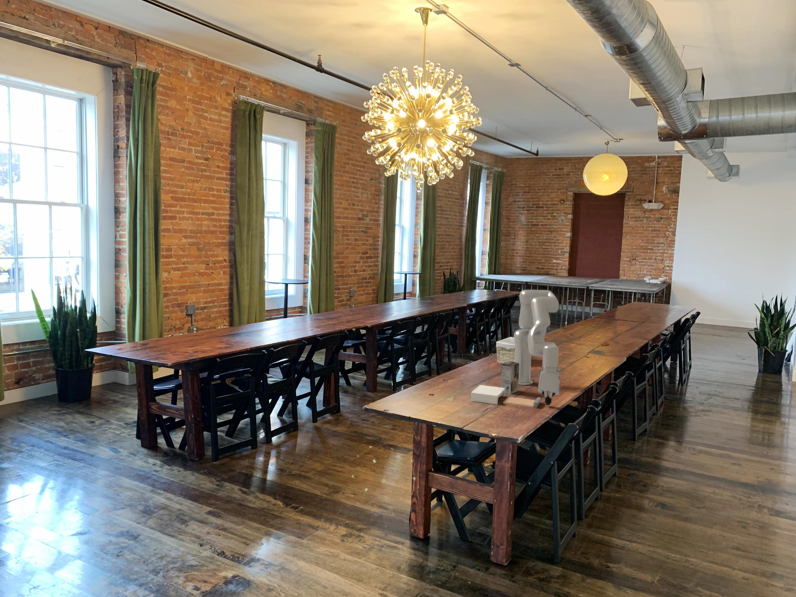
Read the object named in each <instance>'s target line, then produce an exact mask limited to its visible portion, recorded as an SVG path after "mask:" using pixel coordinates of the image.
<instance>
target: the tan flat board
mask: <svg viewBox="0 0 796 597" xmlns="http://www.w3.org/2000/svg"><path fill="white" fill-rule="evenodd" d="M541 400H542V398H541V397H539V396H538V397H536V399H529V398H521V397H512V396H507V398H506V399H505V400H504V401H503V402H502V403H503V405H509V406H517V407H523V408H524V407H525V408H531V409H537V408H538V407H539V405H540V404H541V402H542V401H541Z"/></svg>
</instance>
